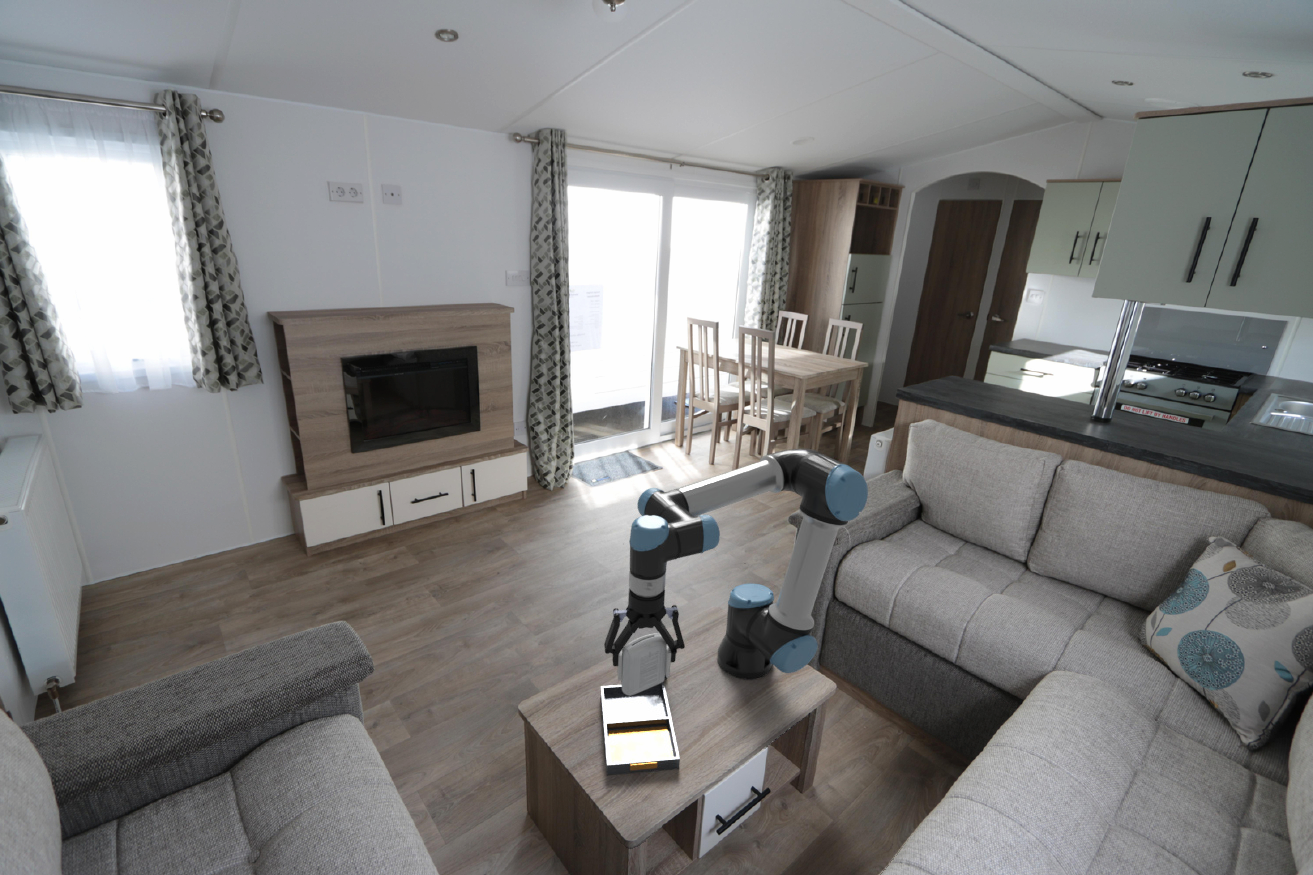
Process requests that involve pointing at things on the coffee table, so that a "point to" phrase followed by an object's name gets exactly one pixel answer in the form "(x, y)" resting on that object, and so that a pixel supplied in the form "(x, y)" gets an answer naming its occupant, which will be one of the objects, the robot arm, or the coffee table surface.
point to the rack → (638, 731)
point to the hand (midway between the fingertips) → (643, 674)
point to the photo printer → (643, 663)
